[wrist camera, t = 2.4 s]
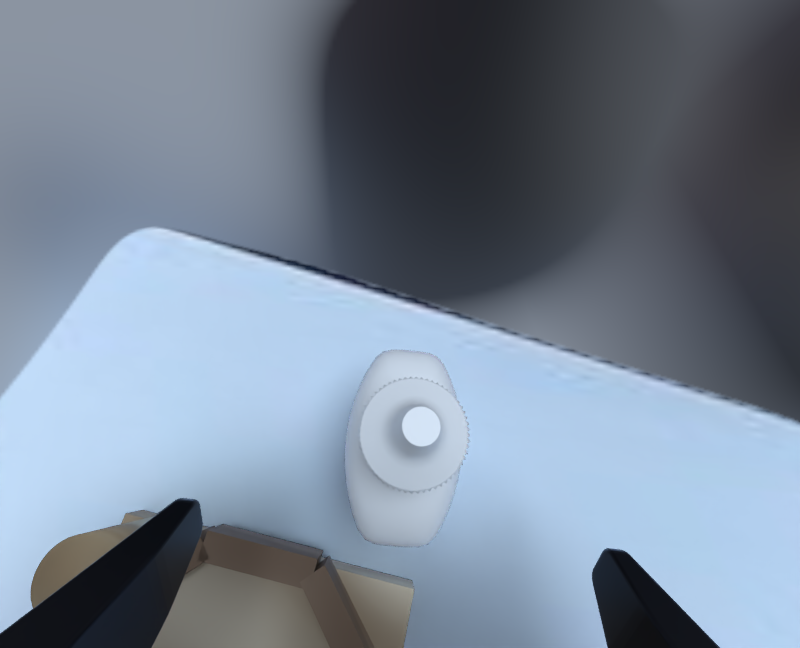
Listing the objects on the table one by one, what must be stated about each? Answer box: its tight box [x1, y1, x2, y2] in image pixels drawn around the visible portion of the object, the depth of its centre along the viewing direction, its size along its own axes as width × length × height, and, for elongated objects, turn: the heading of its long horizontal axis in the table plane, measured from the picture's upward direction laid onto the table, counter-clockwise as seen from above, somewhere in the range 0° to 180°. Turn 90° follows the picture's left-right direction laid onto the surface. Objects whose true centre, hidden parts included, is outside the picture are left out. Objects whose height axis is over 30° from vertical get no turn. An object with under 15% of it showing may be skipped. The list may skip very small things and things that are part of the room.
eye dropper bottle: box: [345, 350, 470, 547], centre depth 12 cm, size 4×6×12 cm
